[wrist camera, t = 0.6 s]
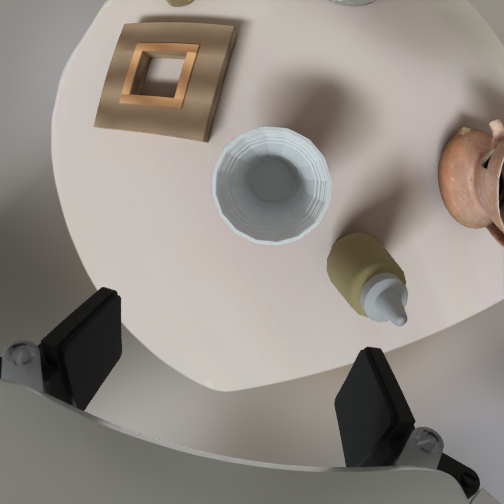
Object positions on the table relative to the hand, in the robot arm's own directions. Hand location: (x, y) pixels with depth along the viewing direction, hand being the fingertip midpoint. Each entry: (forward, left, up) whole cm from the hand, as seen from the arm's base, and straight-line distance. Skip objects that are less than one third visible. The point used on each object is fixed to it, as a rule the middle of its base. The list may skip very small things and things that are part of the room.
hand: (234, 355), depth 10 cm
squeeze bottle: (+2, +13, -29) cm, 32 cm away
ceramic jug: (-14, +29, -29) cm, 43 cm away
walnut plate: (-16, -17, -29) cm, 37 cm away
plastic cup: (-5, 0, -29) cm, 29 cm away
